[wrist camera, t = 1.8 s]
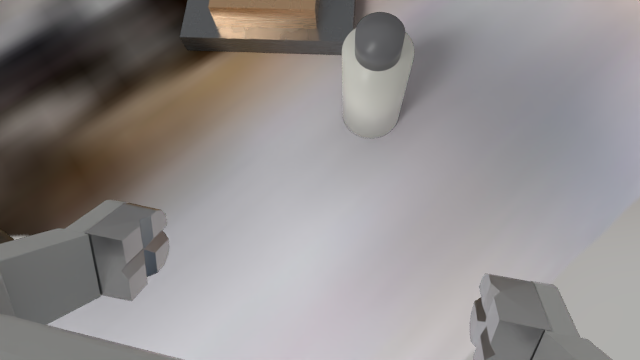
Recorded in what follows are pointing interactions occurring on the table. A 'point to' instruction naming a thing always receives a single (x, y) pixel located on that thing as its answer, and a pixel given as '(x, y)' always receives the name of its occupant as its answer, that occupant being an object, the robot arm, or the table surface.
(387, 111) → the white capped bottle
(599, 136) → the table surface
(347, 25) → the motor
